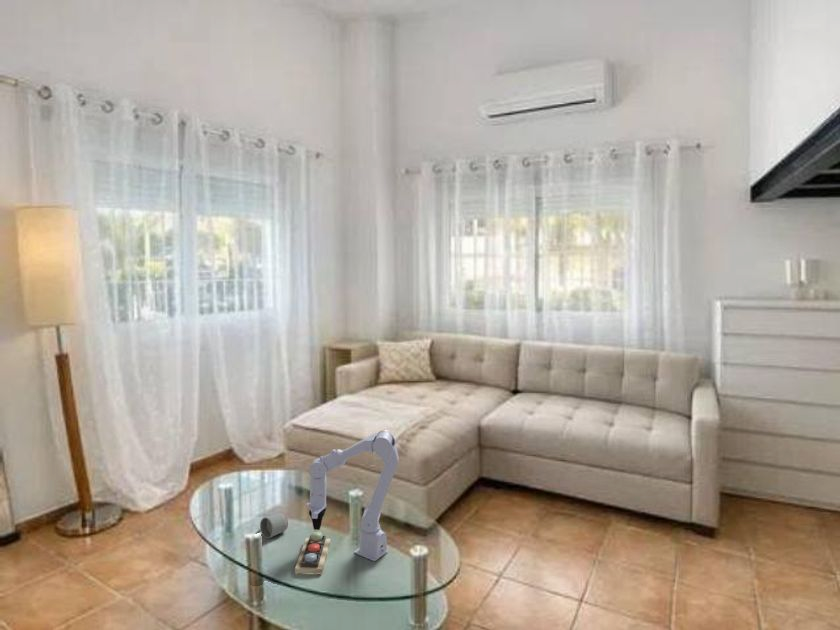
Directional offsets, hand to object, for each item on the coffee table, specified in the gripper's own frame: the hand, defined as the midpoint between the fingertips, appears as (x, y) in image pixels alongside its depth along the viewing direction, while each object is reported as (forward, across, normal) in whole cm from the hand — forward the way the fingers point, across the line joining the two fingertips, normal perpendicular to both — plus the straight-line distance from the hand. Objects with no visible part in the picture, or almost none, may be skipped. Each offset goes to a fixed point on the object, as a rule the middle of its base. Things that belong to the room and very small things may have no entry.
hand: (317, 528), depth 191 cm
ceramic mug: (+8, -11, -19) cm, 23 cm away
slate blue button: (+5, +13, 0) cm, 14 cm away
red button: (+5, +6, 0) cm, 8 cm away
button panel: (+7, +6, 0) cm, 10 cm away
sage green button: (+4, 0, 0) cm, 4 cm away
